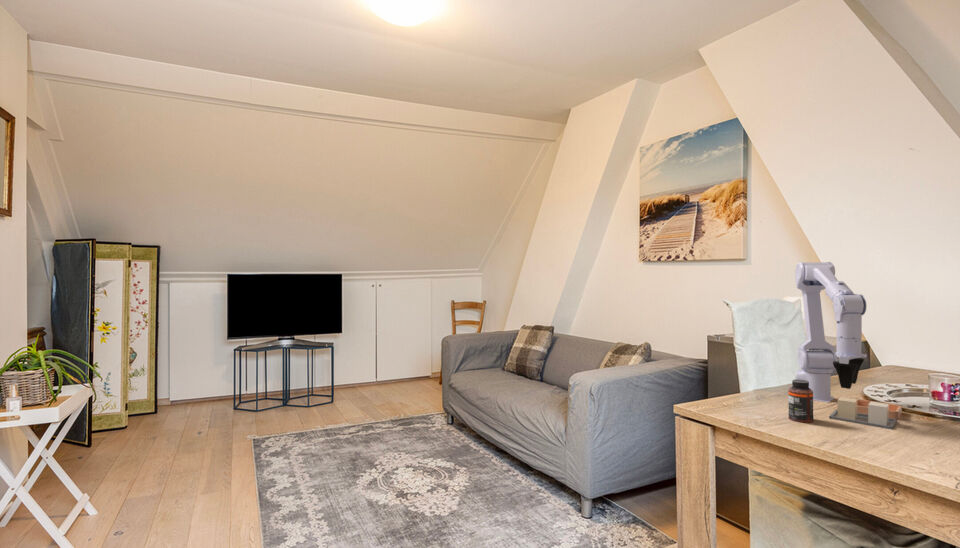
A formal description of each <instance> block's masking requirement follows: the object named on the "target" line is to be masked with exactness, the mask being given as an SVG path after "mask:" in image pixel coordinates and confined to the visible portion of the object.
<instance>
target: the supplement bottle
mask: <svg viewBox="0 0 960 548" xmlns="http://www.w3.org/2000/svg"><path fill="white" fill-rule="evenodd" d="M791 382H792V383H791V385H792V386H790V387H789V388H788V392H787V393H788V397H787V398H788V403H787V404H788V406H787V407H788V420H790V421H792V422H796V423H802V424H812V423H813V422H814V400H813V391H812V390H811V389H810V388H809V382H808V381H806V380H800V379H796V380H795V379H792V381H791Z"/></svg>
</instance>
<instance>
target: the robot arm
mask: <svg viewBox="0 0 960 548" xmlns="http://www.w3.org/2000/svg"><path fill="white" fill-rule="evenodd" d="M835 275H836V269H835V265H834V264H833V262H831V261H827V262H802V261H798V262H797V264H796V266H795V270H794V279H795V284H796V285H795V286H796V289H798V290H800V291H801V295H802V302H803V303H802V304H803V312H804V313H803V314H804V320H805V331H806V332H805V333H806V341H805V342H803V343H802V344H800V345H799V346H798V347H797V348H798V349H797V352H798V353H797V364H798V367H799V368H800V369H796V372H795V378H794V380H796V379H800V380H806V381H808V382H809V388H810V389H811V390H812V391H813V401H815V402H823V403H831V401H833V400H834V399H835V396H831V395H832V394H831V390H832V388H831V384H832V383H831V381H832V380H831V379H832V374H834V371H836V373H837V377H838V382H839V385H840V388H841V389H847V390H850V389H851V388H852V385H853V384H856V383H857V380H858V376H859V371H860V368H861V367H862V364H863V363H864V361H865V359H864V358H867V355H868V354H865V353H862V337H863V336H862V335H863V334H862V332H863V331H862V325H863V324H862V322H863V320H862V317H863V316H864V315H865V313H866V311H867V305H868V304H867V300H866V298H865V296H864V295H863V294H859V293H855V292H853V290H852V289H851V288H850V287H849V286H848V285H847V284H846V283H845V282H844V281H843V280H838V279H837V277H836V276H835ZM823 290H824V292H825V295H826V296H827V297H828V299H829V300H830V302H831V303H832V309H833V313H834V320H835V322H836V349H835V346H834V345H832V344H830V343H829V342H828V341H827V340H826V338H825V329H824V319H823V309H822V301H821V291H823Z"/></svg>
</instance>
